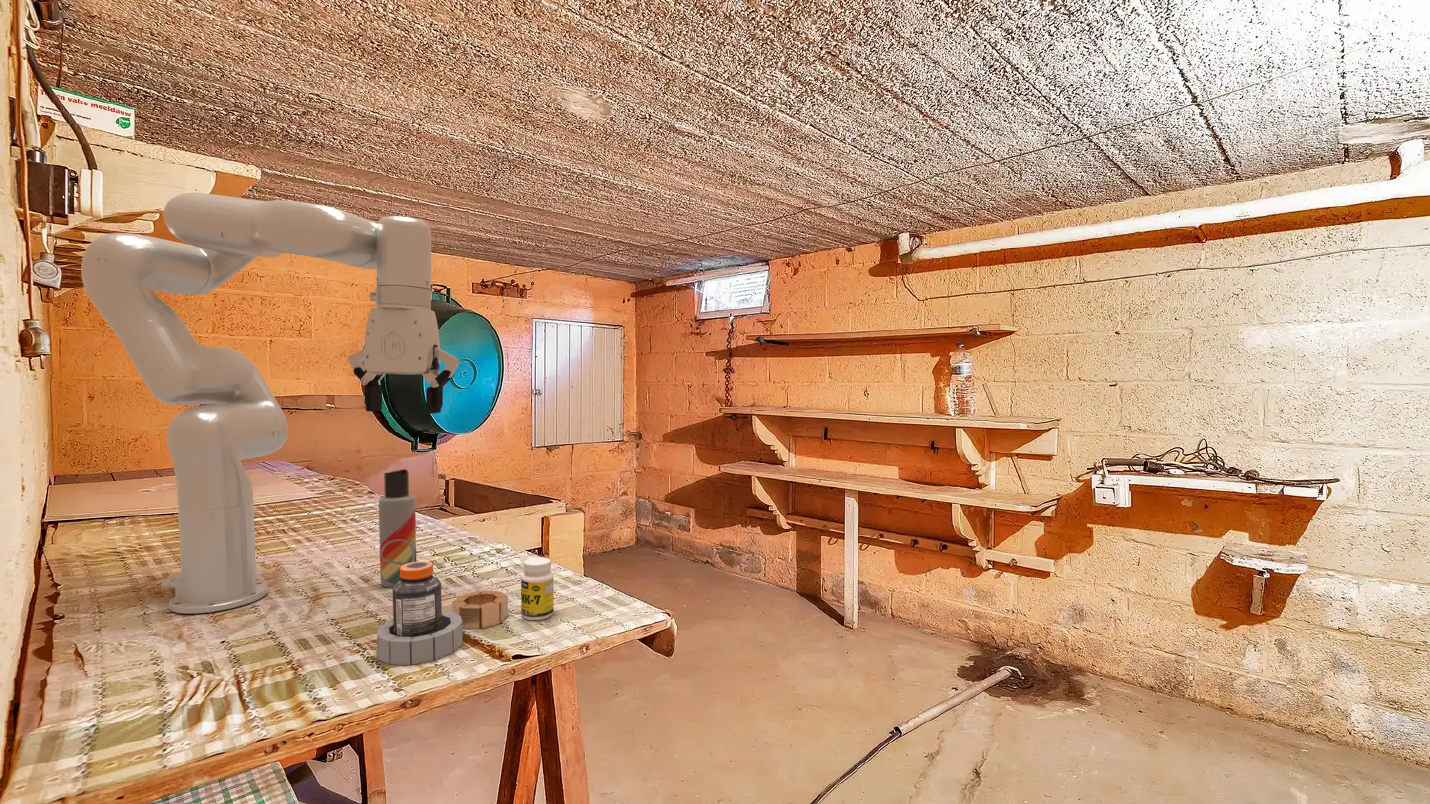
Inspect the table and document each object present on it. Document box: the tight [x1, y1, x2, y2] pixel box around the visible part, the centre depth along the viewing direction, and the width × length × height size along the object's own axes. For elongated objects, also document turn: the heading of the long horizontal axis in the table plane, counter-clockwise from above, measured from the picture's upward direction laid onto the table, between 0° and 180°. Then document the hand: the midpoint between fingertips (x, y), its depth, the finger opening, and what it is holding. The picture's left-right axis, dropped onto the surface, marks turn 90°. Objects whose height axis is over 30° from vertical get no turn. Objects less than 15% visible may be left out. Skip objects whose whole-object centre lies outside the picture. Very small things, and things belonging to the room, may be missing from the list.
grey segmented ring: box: [376, 610, 464, 666], centre depth 86 cm, size 10×10×3 cm
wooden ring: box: [452, 590, 509, 630], centre depth 96 cm, size 7×7×3 cm
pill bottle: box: [392, 560, 443, 637], centre depth 86 cm, size 6×6×11 cm
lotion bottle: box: [378, 468, 417, 589], centre depth 111 cm, size 6×6×20 cm
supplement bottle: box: [520, 556, 555, 621], centre depth 97 cm, size 5×5×8 cm
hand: (403, 411), depth 99 cm, fingers open, 9 cm apart
